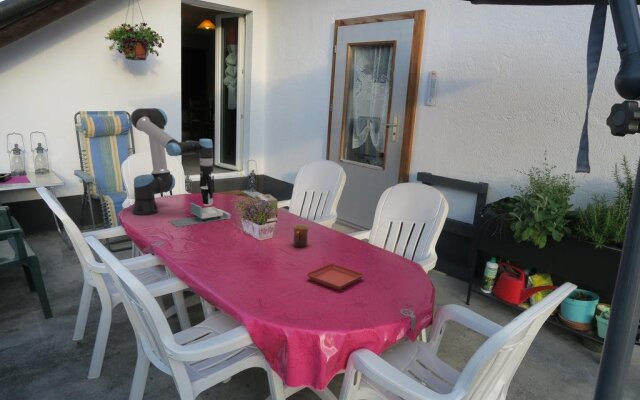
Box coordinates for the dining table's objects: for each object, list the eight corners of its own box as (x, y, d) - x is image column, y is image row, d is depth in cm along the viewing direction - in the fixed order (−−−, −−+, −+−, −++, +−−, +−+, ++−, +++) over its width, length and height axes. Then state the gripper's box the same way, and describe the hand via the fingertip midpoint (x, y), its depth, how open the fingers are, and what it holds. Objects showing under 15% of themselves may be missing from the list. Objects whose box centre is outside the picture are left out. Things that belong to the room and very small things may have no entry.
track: (167, 221, 257) (167, 216, 256) (220, 213, 279) (219, 209, 278) (177, 227, 247) (177, 222, 246) (230, 218, 268) (230, 214, 268)
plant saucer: (331, 269, 197) (331, 262, 197) (364, 280, 186) (364, 273, 186) (305, 281, 184) (305, 273, 183) (339, 294, 173) (339, 286, 172)
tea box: (254, 217, 273) (254, 194, 270) (270, 216, 277) (270, 193, 274) (262, 224, 260) (262, 200, 257) (277, 222, 264) (278, 199, 261)
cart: (190, 216, 266) (190, 202, 264) (212, 213, 275) (212, 199, 273) (200, 222, 256) (200, 207, 254) (222, 218, 265) (222, 204, 263)
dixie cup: (207, 207, 258) (207, 189, 256) (197, 205, 262) (197, 187, 260) (216, 204, 265) (216, 187, 263) (207, 202, 269) (206, 185, 266)
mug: (294, 241, 231) (294, 223, 228) (310, 243, 229) (311, 225, 227) (288, 249, 219) (288, 230, 217) (305, 251, 218) (305, 231, 215)
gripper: (193, 163, 263) (194, 199, 269) (208, 168, 248) (209, 206, 253) (204, 162, 268) (205, 198, 273) (220, 167, 253) (221, 204, 258)
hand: (207, 202), depth 263 cm, fingers closed on dixie cup, 8 cm apart
